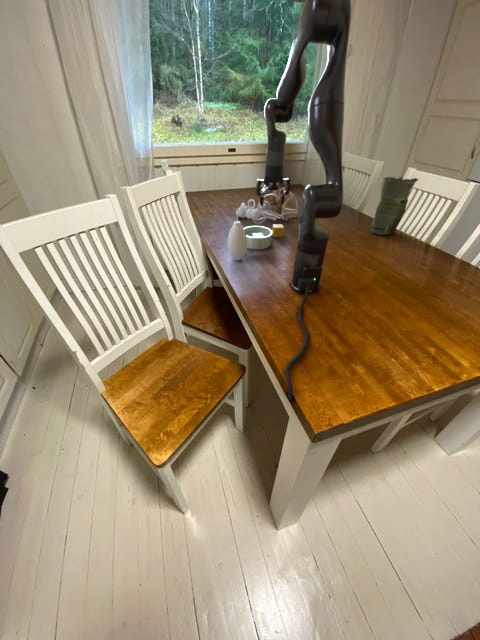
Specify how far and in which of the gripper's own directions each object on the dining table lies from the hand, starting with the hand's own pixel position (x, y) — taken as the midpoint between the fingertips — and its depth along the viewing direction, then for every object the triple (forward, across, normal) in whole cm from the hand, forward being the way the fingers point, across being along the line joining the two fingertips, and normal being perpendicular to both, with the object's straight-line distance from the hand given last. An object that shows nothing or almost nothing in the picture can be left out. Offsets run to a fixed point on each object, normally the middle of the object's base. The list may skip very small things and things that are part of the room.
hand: (271, 205), depth 119 cm
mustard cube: (+15, +5, +3) cm, 17 cm away
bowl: (+15, -7, -4) cm, 17 cm away
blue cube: (+15, -7, -7) cm, 18 cm away
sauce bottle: (+15, -18, -19) cm, 30 cm away
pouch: (+16, +58, 0) cm, 60 cm away
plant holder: (+16, +6, +29) cm, 34 cm away
